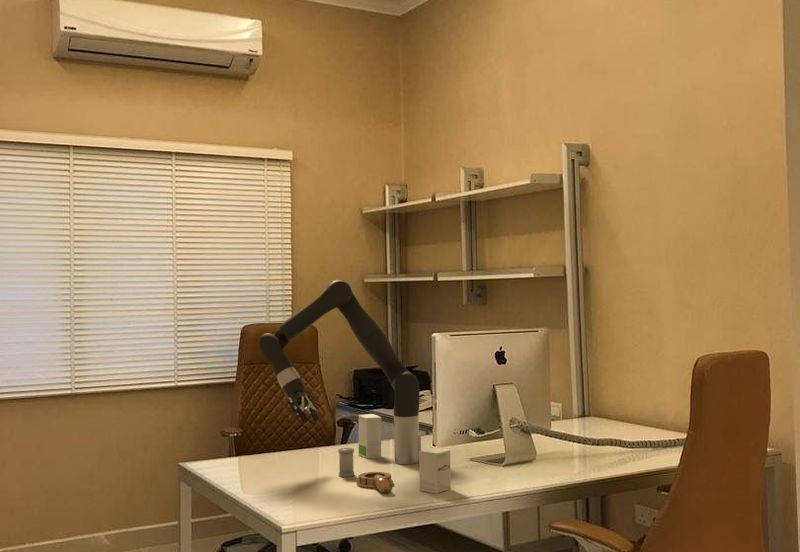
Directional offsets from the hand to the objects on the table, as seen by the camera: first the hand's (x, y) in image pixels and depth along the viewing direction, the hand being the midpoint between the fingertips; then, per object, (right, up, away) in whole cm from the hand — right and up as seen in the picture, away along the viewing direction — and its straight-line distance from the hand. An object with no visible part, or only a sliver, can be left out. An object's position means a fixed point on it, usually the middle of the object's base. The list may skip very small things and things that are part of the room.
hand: (312, 421), depth 297 cm
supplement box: (+42, -17, -31) cm, 55 cm away
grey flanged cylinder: (+13, -17, -7) cm, 23 cm away
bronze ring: (+24, -17, -25) cm, 38 cm away
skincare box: (+20, -18, +26) cm, 37 cm away
